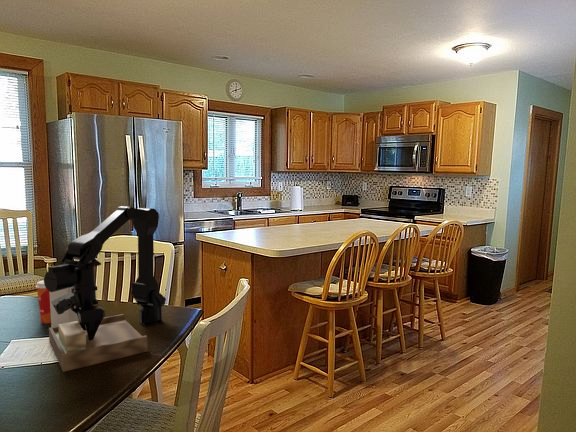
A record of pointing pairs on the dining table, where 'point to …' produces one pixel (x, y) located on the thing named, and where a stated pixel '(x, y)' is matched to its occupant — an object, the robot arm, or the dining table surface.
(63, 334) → the cream rectangular block
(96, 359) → the open tray box
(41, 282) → the paper cup
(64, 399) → the dining table surface
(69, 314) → the milk carton
